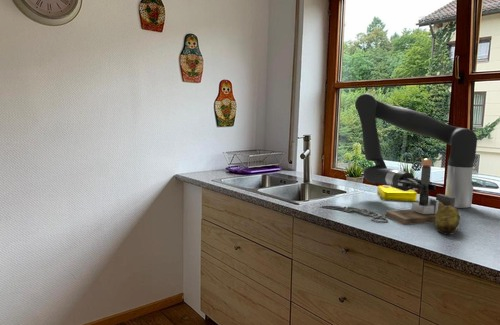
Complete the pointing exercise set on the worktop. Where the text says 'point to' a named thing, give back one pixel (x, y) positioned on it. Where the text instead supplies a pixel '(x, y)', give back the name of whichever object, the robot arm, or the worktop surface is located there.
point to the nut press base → (416, 217)
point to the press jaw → (425, 192)
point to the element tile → (396, 194)
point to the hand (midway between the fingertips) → (430, 188)
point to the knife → (360, 212)
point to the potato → (447, 219)
